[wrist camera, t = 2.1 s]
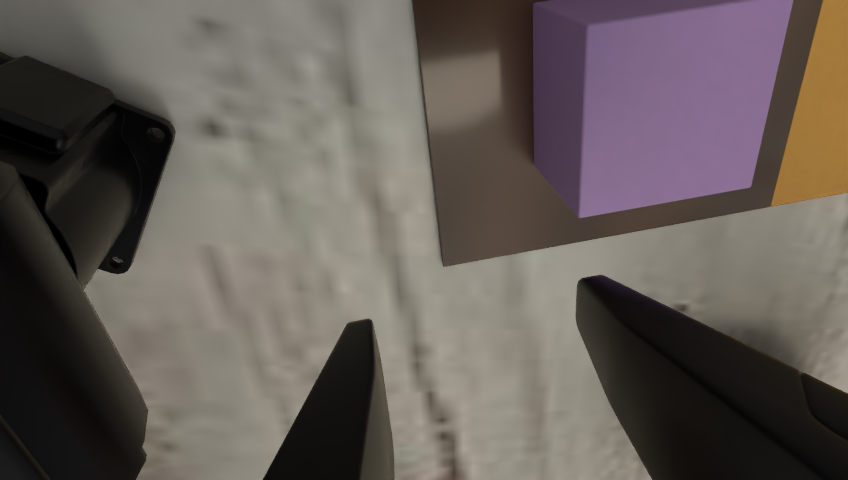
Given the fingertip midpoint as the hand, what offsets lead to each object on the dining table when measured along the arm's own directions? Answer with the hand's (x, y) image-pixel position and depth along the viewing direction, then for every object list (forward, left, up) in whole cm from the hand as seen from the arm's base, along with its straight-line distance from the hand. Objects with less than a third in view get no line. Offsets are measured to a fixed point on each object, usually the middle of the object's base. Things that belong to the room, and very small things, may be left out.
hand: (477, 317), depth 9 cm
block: (+5, -6, -12) cm, 14 cm away
